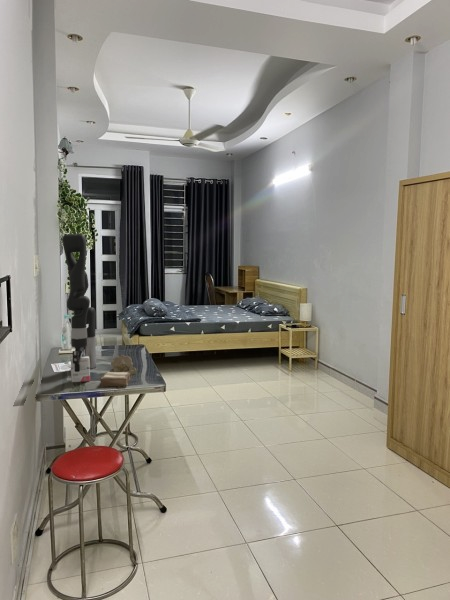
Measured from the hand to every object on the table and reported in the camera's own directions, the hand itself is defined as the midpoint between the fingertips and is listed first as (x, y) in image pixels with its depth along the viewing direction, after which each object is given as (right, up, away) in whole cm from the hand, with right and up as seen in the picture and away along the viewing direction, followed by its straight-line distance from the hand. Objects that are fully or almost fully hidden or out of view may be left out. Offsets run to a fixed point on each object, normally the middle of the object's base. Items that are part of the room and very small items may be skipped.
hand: (79, 369), depth 228 cm
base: (+18, -6, -2) cm, 19 cm away
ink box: (0, -6, +1) cm, 6 cm away
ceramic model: (+17, -5, +16) cm, 24 cm away
